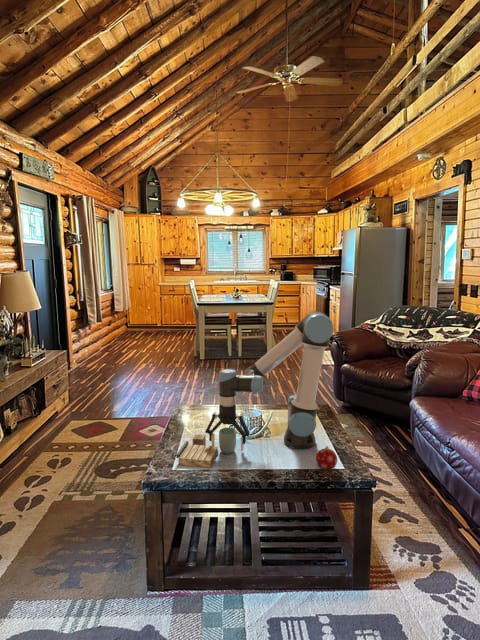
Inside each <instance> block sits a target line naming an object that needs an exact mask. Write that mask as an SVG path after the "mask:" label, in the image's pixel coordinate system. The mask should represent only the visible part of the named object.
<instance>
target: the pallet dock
mask: <svg viewBox="0 0 480 640" xmlns="http://www.w3.org/2000/svg"><path fill="white" fill-rule="evenodd" d="M218 454H219V449H218V446H215V445H214V446H211V445H205V446H204V445H193V443H189V440H186V441H185V442H184V443H183V444H182V446H181V448H180V449H179V450H178V452H177V453H176V454H175V456H176V459H178V465H180V466H188V467H189V466H192V467H201V468H202V467H203V468H211V467H212V463H213V462H214V461H215V459H216V456H217V455H218Z"/></svg>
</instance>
